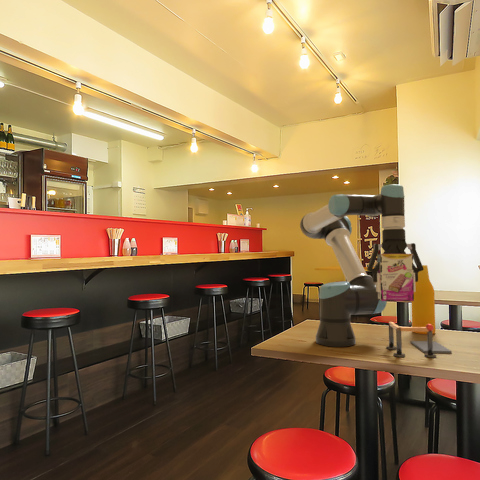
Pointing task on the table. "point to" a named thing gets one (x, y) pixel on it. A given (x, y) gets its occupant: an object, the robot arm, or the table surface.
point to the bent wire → (399, 341)
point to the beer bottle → (423, 302)
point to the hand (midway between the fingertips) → (395, 291)
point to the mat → (436, 347)
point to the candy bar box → (396, 277)
